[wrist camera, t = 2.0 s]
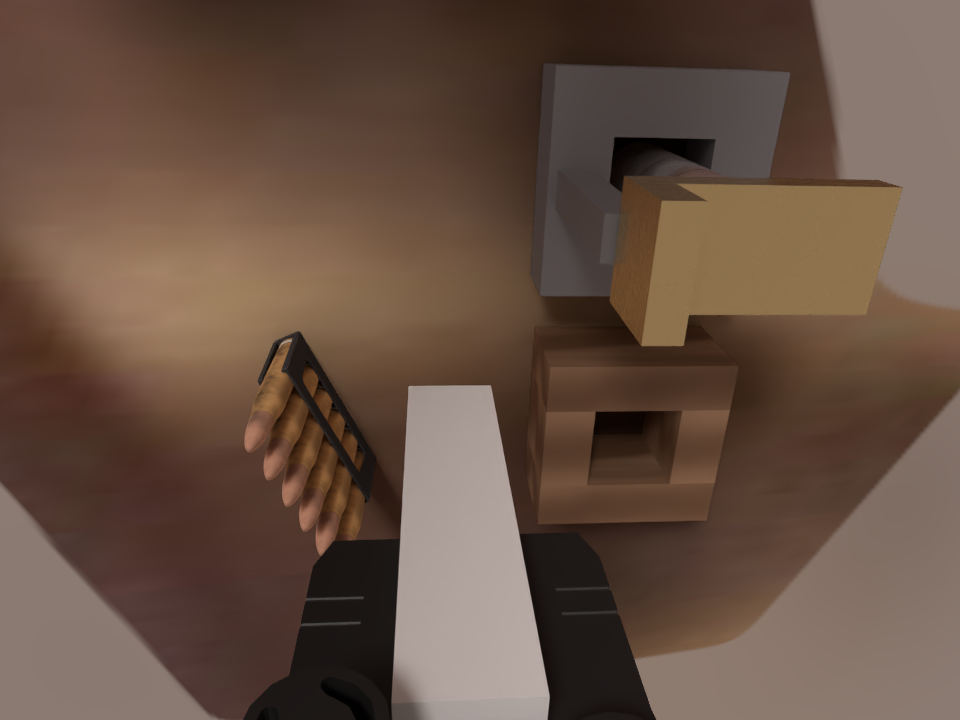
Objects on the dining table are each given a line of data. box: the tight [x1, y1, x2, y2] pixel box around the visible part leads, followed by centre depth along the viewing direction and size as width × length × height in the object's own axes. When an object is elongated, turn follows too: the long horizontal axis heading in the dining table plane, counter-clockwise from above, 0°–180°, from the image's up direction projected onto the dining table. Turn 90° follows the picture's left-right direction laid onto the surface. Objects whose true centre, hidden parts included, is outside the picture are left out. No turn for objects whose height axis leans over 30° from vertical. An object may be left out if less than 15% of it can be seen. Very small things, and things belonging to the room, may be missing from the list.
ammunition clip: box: [244, 331, 376, 556], centre depth 39 cm, size 11×2×12 cm, turn 23°
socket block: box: [530, 63, 791, 296], centre depth 33 cm, size 12×12×14 cm
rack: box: [525, 327, 739, 524], centre depth 43 cm, size 11×11×6 cm
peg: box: [610, 142, 726, 192], centre depth 34 cm, size 4×4×14 cm
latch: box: [610, 176, 902, 346], centre depth 25 cm, size 5×10×4 cm, turn 89°
